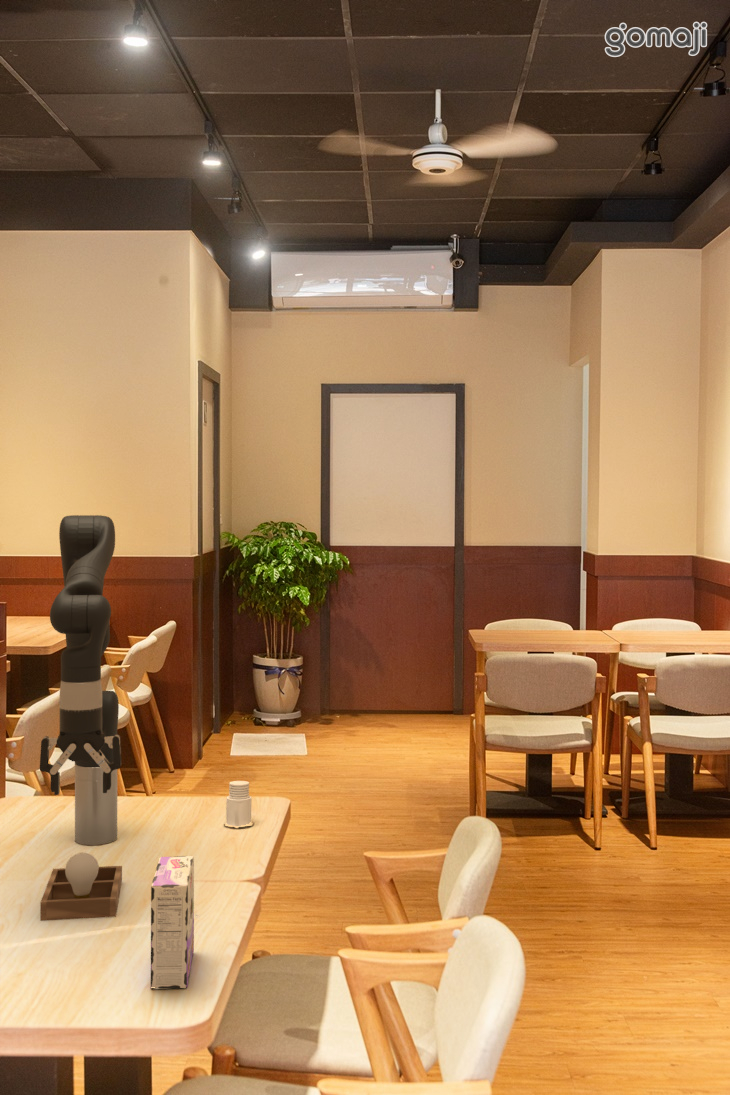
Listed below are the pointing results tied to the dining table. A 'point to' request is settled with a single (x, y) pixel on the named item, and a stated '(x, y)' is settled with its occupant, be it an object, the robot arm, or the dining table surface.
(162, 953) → the candy box
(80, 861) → the light bulb
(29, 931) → the dining table surface
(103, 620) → the robot arm
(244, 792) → the downlight
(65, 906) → the box
